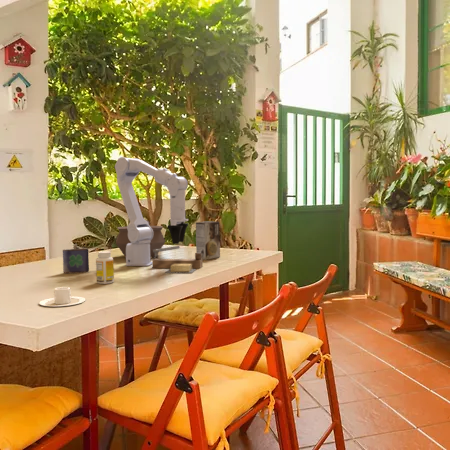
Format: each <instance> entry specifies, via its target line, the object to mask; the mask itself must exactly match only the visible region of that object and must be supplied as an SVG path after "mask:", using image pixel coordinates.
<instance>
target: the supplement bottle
mask: <svg viewBox="0 0 450 450" xmlns="http://www.w3.org/2000/svg"><path fill="white" fill-rule="evenodd" d="M111 253H112V252H111V251H104V250H102V251H99V252H97V256H98V257H97V258H96V259H95V271H96V275H95V276H96V283H97V284H99V285H107V284H112V283H114V282H115V274H114V273H115V268H114V267H115V266H114V258H113V257H112V254H111Z"/></svg>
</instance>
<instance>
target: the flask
mask: <svg viewBox="0 0 450 450" xmlns="http://www.w3.org/2000/svg"><path fill="white" fill-rule="evenodd" d="M77 245H78V244H77V243H75V244H73V247H72V248H64V249H62V267H63V268H62V269H63V271H62V272H63V274H78V273H79V274H80V273H82V274H83V273H89V272H90V264H89V263H90V260H89V258H90V257H89V248H87V247H84V246H77Z"/></svg>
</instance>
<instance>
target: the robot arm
mask: <svg viewBox="0 0 450 450" xmlns="http://www.w3.org/2000/svg"><path fill="white" fill-rule="evenodd" d="M114 169H115V172H116V183H117V186H118V189H119V193H120V195H121V199H122V200H123V201H122V202H123V204H124V207H125V210H126V214H127V217H128V221H129V223H128V225H127V230H128V239H129V240H130V241H131V243H128V244H127V246H126V257H125V266H127V267H128V266H130V267H132V266H133V267H134V266H135V267H136V266H137V267H138V266H142V267H146V266H147V267H148V266H151V265H153V264H152V261H151V258H150V242H151V239H152V238H153V230H152V228H151V227H150V226H151V225H150V224H149V223H148V222H147V220H146V219H144V217H143V214H142V210H141V208H140V204H139V202H138V198H137V195H136V191H135V190H134V186H133V183H132V182H133V181H134V180H135V178H137V176H138V175H139V174H140V172H142V173H144V174H146V175H149V176H151V177H153V178H154V181H155V182H156V183H158V184H160V185H162V186H164V187H166V188H167V189H168V191H169V193H168V194H169V195H170V196H169V199H170V200H169V201H170V202H169V206H170V207H169V208H170V209H169V211H170V215H169V216H170V219H169V222H170V224H168V225H167V229H168V231H169V234H170V237H171V241H172V244H173V245H179V244H180V243H183V242H184V241H185V235H186V232H187V231H186V230H187V228H188V225H189V223H185V222H188V221H189V218H186V190H188V185H189V184H188V183H189V181H188V180H187V179H186V177H184V176H178V175H177V173H175V172H174V173H172V172H171V171H168V169H167V168H166V167H163V168H159V169H158V168H156V167H154V166H152V165H151V164H150V163H147V162H146V161H144V160H142V159H139V158H137V157H135V158H131V157H125V156H121V157H119V158H118V159H117V160H116V163H115V165H114Z"/></svg>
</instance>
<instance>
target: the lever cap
mask: <svg viewBox="0 0 450 450" xmlns="http://www.w3.org/2000/svg"><path fill="white" fill-rule="evenodd" d="M170 269H171V272H190V271H191V270H192V269H193V268H192V264H173V265H171V268H170Z"/></svg>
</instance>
